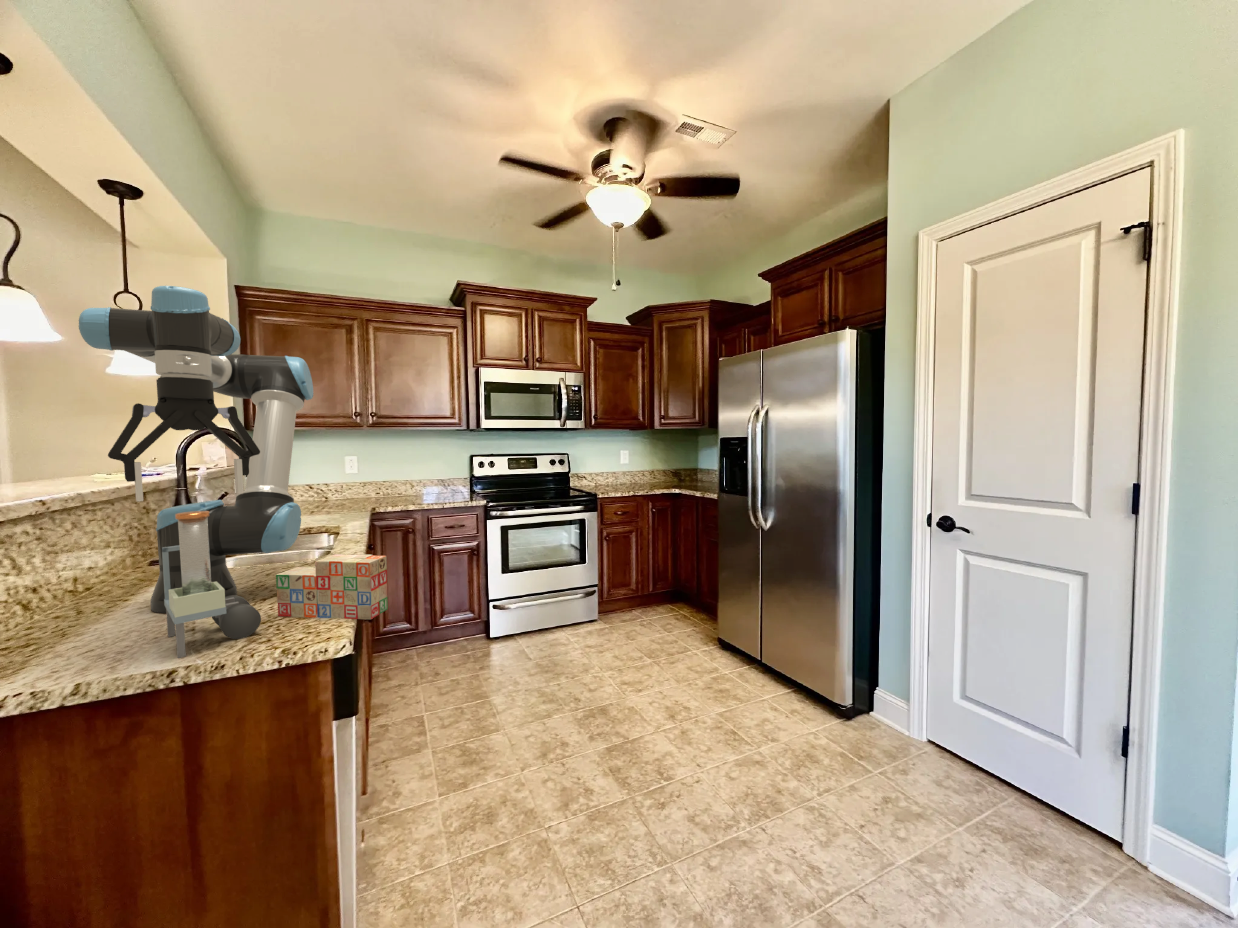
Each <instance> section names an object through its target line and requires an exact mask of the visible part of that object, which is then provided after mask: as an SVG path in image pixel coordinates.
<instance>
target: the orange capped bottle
mask: <svg viewBox="0 0 1238 928" xmlns="http://www.w3.org/2000/svg"><path fill="white" fill-rule="evenodd" d="M208 516H210V515H209V511H192V512H183V513H177V514H175V517H176V519H178V528H179V544H180V560H181V576H182V592H183V596H187V595H192V594H197V593H203V592H208V591H212V585H211V568H210V551H209V534H208V518H207V517H208Z"/></svg>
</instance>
